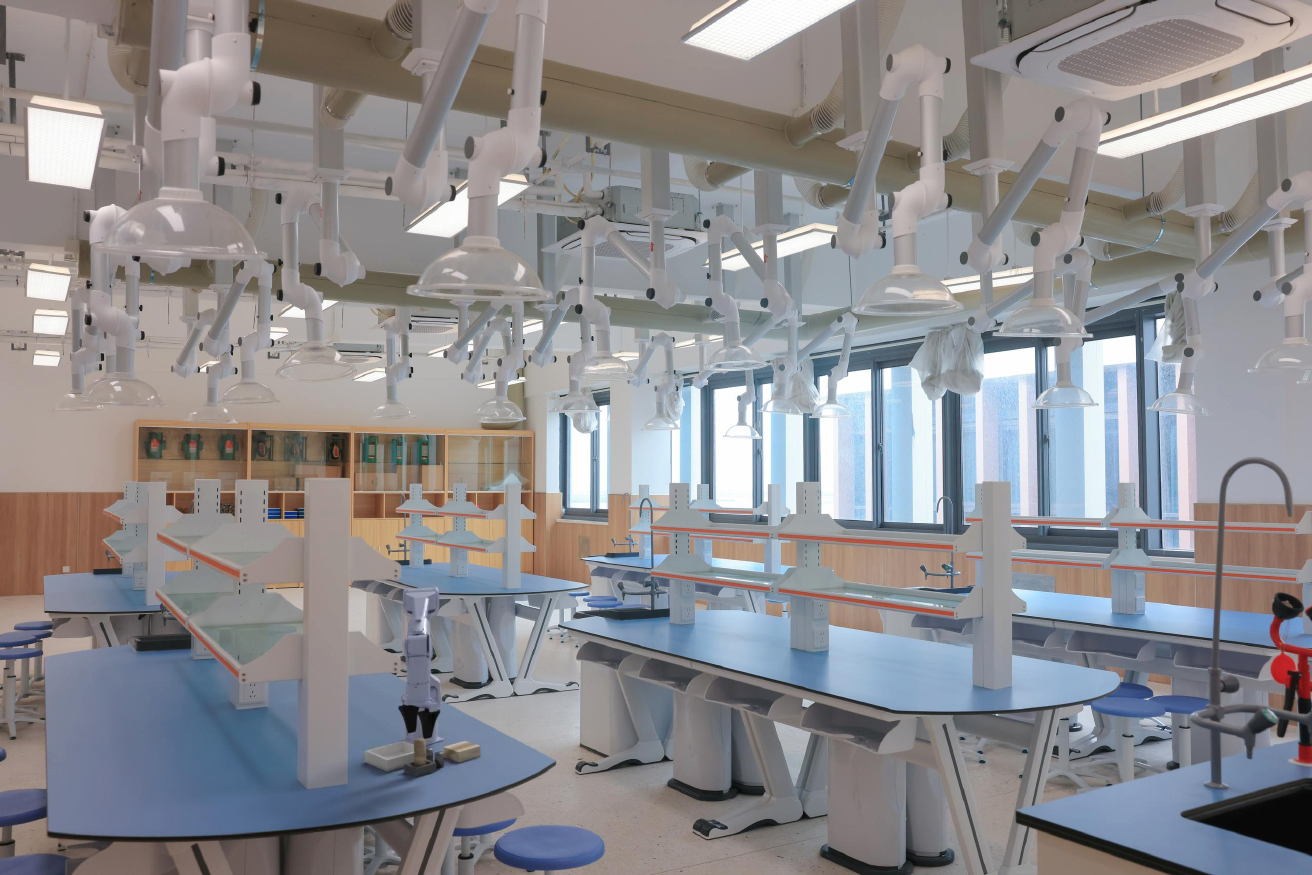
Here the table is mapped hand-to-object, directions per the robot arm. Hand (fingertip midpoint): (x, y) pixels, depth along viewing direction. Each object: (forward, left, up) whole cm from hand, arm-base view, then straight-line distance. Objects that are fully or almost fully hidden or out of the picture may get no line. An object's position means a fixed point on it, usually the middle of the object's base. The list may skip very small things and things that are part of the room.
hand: (419, 735), depth 243 cm
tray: (-12, 0, -9) cm, 15 cm away
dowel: (0, 0, -9) cm, 9 cm away
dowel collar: (0, 0, -9) cm, 9 cm away
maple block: (-2, +14, -10) cm, 17 cm away
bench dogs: (-2, +5, -9) cm, 11 cm away
